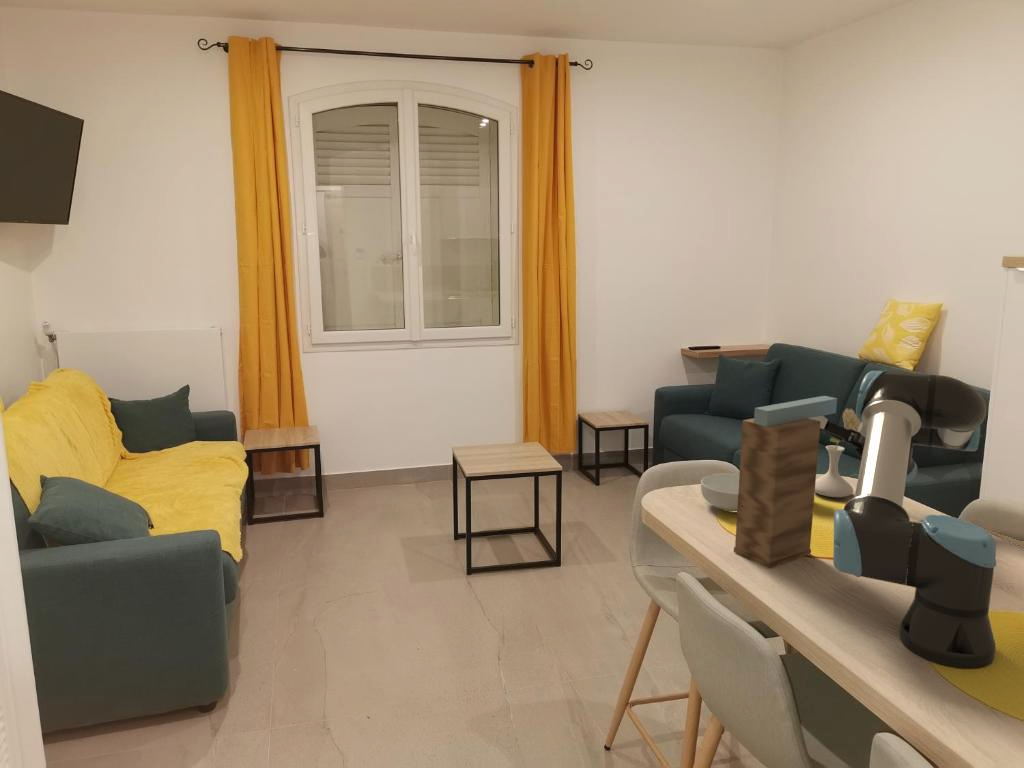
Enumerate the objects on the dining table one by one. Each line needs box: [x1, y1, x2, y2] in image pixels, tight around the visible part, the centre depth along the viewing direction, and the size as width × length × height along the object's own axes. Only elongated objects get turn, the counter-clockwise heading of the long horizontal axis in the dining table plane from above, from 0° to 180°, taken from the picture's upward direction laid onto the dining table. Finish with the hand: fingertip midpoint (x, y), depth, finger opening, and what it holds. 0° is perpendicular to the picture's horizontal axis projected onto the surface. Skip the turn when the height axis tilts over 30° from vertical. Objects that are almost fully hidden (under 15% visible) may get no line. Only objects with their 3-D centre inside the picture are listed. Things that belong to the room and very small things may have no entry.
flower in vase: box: [815, 408, 861, 498], centre depth 217 cm, size 13×11×25 cm
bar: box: [753, 395, 838, 427], centre depth 175 cm, size 4×24×4 cm, turn 122°
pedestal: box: [733, 418, 821, 569], centre depth 176 cm, size 10×14×32 cm
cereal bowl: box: [700, 472, 740, 512], centre depth 208 cm, size 17×17×7 cm
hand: (835, 420), depth 184 cm, fingers open, 13 cm apart
